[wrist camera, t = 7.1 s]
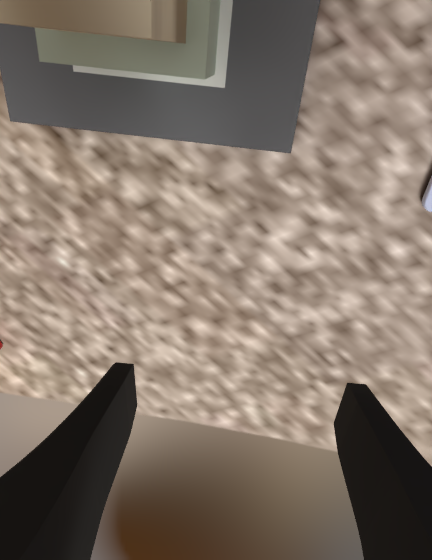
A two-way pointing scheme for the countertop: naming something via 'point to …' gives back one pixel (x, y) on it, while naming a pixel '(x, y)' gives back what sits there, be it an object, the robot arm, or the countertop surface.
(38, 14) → the birch block
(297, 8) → the mat
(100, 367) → the countertop surface
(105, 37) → the sage block
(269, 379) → the countertop surface
